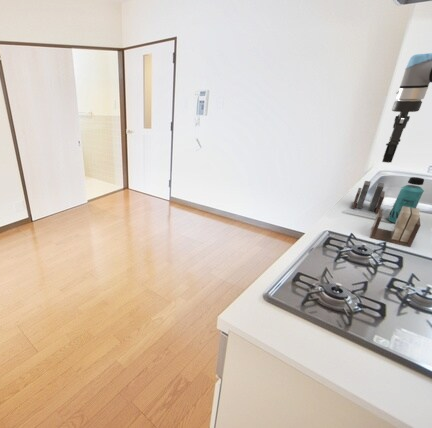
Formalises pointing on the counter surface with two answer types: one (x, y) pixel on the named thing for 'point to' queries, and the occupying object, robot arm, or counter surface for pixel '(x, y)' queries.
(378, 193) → the grey rack
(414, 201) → the beverage bottle
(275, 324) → the counter surface
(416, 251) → the counter surface
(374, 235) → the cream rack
